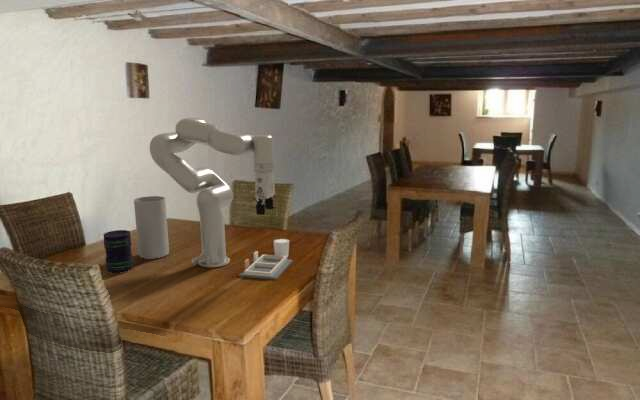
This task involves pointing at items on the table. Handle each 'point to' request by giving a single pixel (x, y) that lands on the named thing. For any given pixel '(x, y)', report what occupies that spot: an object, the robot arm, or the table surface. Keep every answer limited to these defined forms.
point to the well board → (265, 266)
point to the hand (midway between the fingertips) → (265, 211)
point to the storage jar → (118, 251)
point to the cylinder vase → (151, 227)
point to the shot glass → (281, 247)
